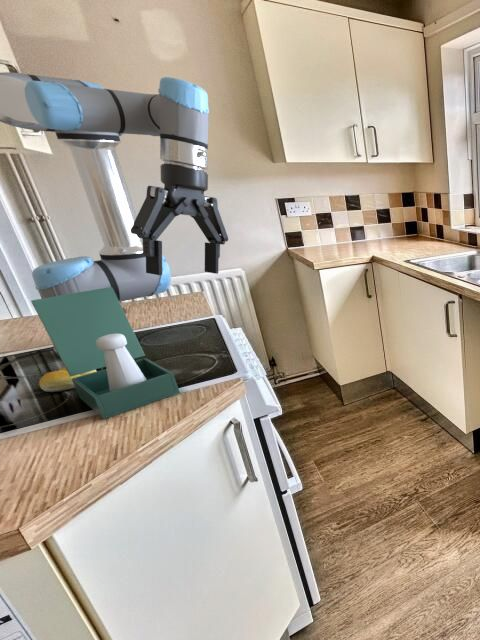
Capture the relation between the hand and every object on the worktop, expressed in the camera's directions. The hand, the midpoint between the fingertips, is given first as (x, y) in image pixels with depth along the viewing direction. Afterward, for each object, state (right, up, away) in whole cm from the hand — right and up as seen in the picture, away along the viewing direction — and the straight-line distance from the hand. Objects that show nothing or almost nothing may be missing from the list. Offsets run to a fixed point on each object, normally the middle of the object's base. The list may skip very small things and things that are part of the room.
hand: (185, 273), depth 88 cm
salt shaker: (-9, -26, -2) cm, 27 cm away
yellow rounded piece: (-29, -24, +5) cm, 38 cm away
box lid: (-19, -12, -1) cm, 22 cm away
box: (-10, -26, -1) cm, 28 cm away
